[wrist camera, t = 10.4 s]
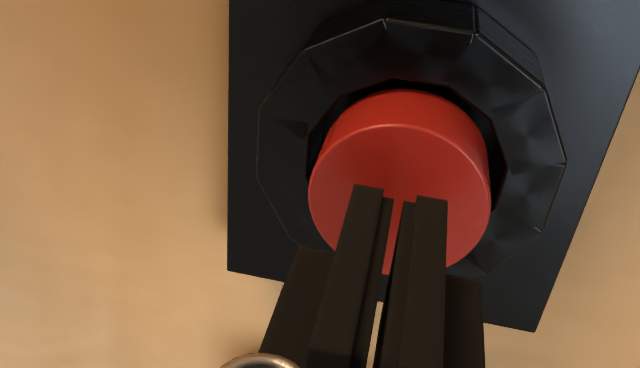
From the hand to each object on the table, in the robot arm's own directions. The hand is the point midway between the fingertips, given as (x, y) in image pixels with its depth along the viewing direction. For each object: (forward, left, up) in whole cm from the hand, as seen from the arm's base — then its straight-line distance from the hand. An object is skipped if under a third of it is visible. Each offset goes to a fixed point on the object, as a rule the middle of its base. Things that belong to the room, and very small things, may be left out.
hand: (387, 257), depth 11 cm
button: (0, 0, -3) cm, 3 cm away
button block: (0, 0, -6) cm, 6 cm away
